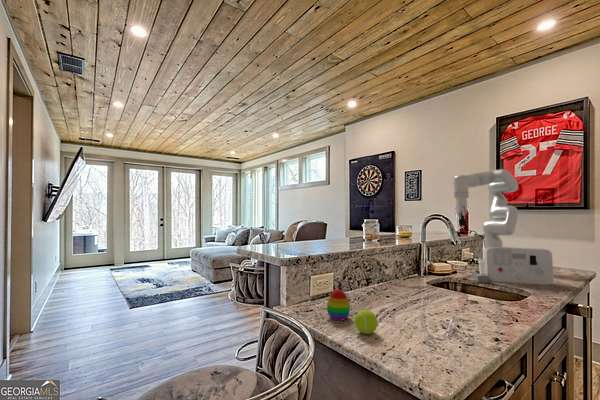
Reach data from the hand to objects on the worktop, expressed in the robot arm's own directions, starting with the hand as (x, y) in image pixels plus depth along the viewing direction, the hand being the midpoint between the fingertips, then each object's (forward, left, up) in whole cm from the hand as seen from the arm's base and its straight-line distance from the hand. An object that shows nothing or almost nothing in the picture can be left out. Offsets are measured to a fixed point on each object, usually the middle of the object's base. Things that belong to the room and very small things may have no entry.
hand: (462, 225), depth 173 cm
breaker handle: (+18, +6, -27) cm, 33 cm away
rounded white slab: (+13, +23, -29) cm, 40 cm away
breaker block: (+13, +6, -29) cm, 32 cm away
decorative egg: (+94, -56, -29) cm, 113 cm away
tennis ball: (+104, -45, -29) cm, 117 cm away
